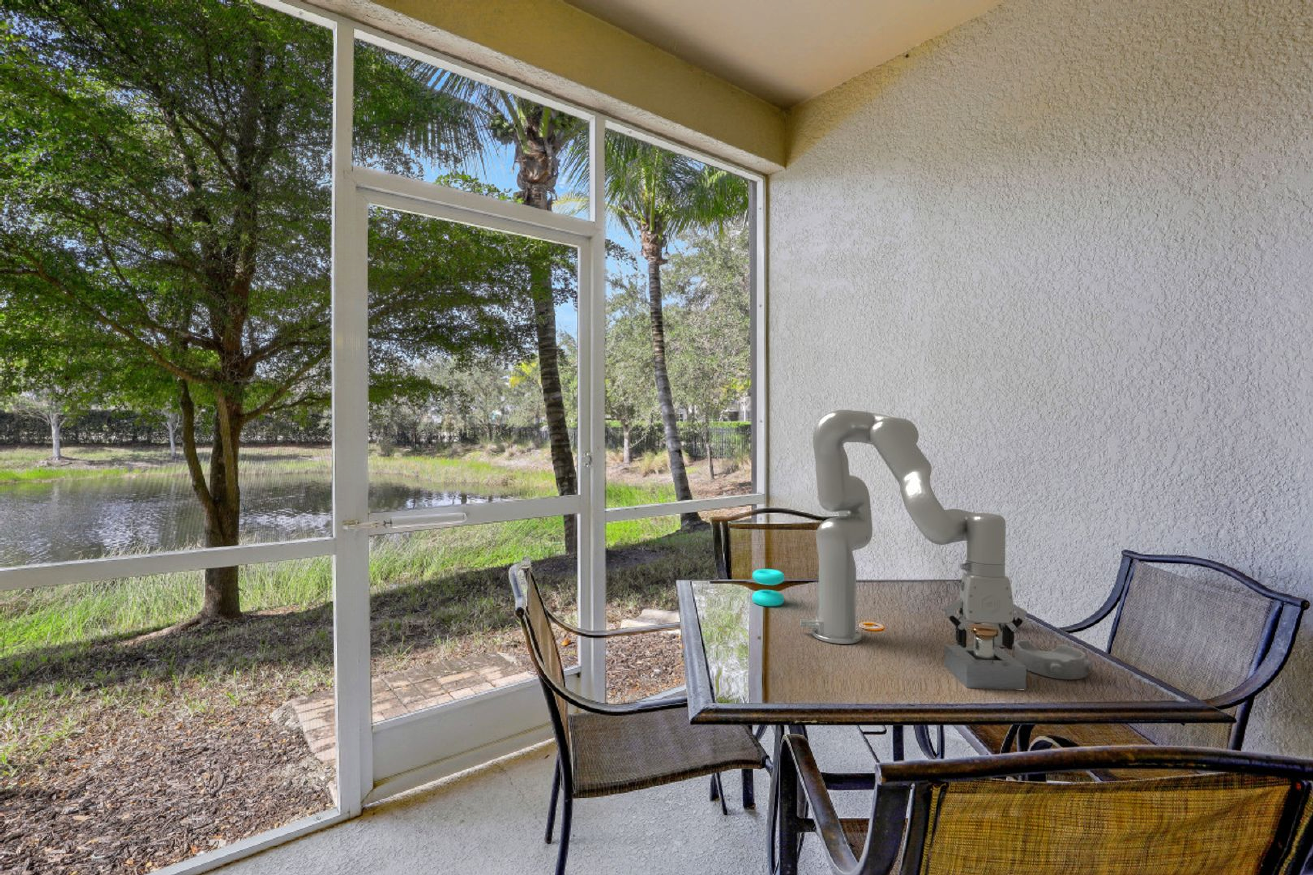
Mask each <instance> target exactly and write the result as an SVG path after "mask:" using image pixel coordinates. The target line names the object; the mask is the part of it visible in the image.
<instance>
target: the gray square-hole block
mask: <svg viewBox="0 0 1313 875" xmlns="http://www.w3.org/2000/svg"><path fill="white" fill-rule="evenodd" d="M944 652H945V653H944V667H945V668H946V669H947V670H948V671H949V672H950V673H951V675H953V676H954V677H955V678H956V679H957V680H958V681H959V682H960V683H961V684H963V686H964V687H965V688H967V689H982V690H983V689H985V690H1001V689H1024V690H1026V691H1027V670H1026V667H1025V666H1024V665H1023V664H1021V663H1020V662H1019V661H1017V660H1016V659H1015V657H1013V656H1012V655H1010V654H1009V653H1008V652H1006V650H1004V649H1002V647H994V660H976V659H975V658H974V645H966V648H962V647H961V646H960V645H959V644H957V645H956V644H945V645H944Z"/></svg>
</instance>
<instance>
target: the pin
mask: <svg viewBox="0 0 1313 875" xmlns="http://www.w3.org/2000/svg"><path fill="white" fill-rule="evenodd" d="M970 633H972V634H973V646H974V658H975V659H976V660H994V637H997V636H998V629H997V628H996V627H993V626H990V625H985V624H974V623H972V624H971V625H970Z"/></svg>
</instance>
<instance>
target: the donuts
mask: <svg viewBox="0 0 1313 875" xmlns="http://www.w3.org/2000/svg"><path fill="white" fill-rule="evenodd" d="M751 577H752V579H753V580H754V582H756V583H758V584H761V585H767V586H775V585H779V584H781V583H783V581H784V580H785V574H784V572H782V571H781V570H778V569H772V568H771V569H770V568H762V569H760V568H759V569H756V570H754V571H753V572H752V576H751ZM751 599H752V602H753V603H754V604H756V605H758V606H763V607H779V606H781V605H783V604H784V602H785V597H784V595H783V594H782V593H781V592H779V591H777V590H773V589H758V590H757V591H755V592H754V593H753V594H752V596H751Z"/></svg>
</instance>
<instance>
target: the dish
mask: <svg viewBox="0 0 1313 875" xmlns="http://www.w3.org/2000/svg"><path fill="white" fill-rule="evenodd" d="M1012 650H1013V651H1014V659H1016V660H1017V661H1019V662H1020V663H1021V664H1023V665H1024V666H1025V667H1026V671H1029V672H1031V673H1033V674H1036V675H1040V676H1044V677H1048V678H1052V679H1058V680H1080V679H1084V678H1087V677H1086V676H1087V675H1088V672H1091V671H1092V669H1093V662H1092V660H1090V659H1089V660H1088V658H1087V655H1086V653H1085V652H1083V651H1082V650H1080V649H1078V648H1076V647H1073V646H1070V645H1066V644H1064V643H1060V644H1059V645H1058V646H1057V647H1055V648H1054V649H1052V650H1049V651H1047V650H1041V649H1038V648H1037V647H1035V646H1034V645H1033V644H1032V643H1031V642H1030V641H1029V640H1028V639H1020V640H1014V644H1013V645H1012Z"/></svg>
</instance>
